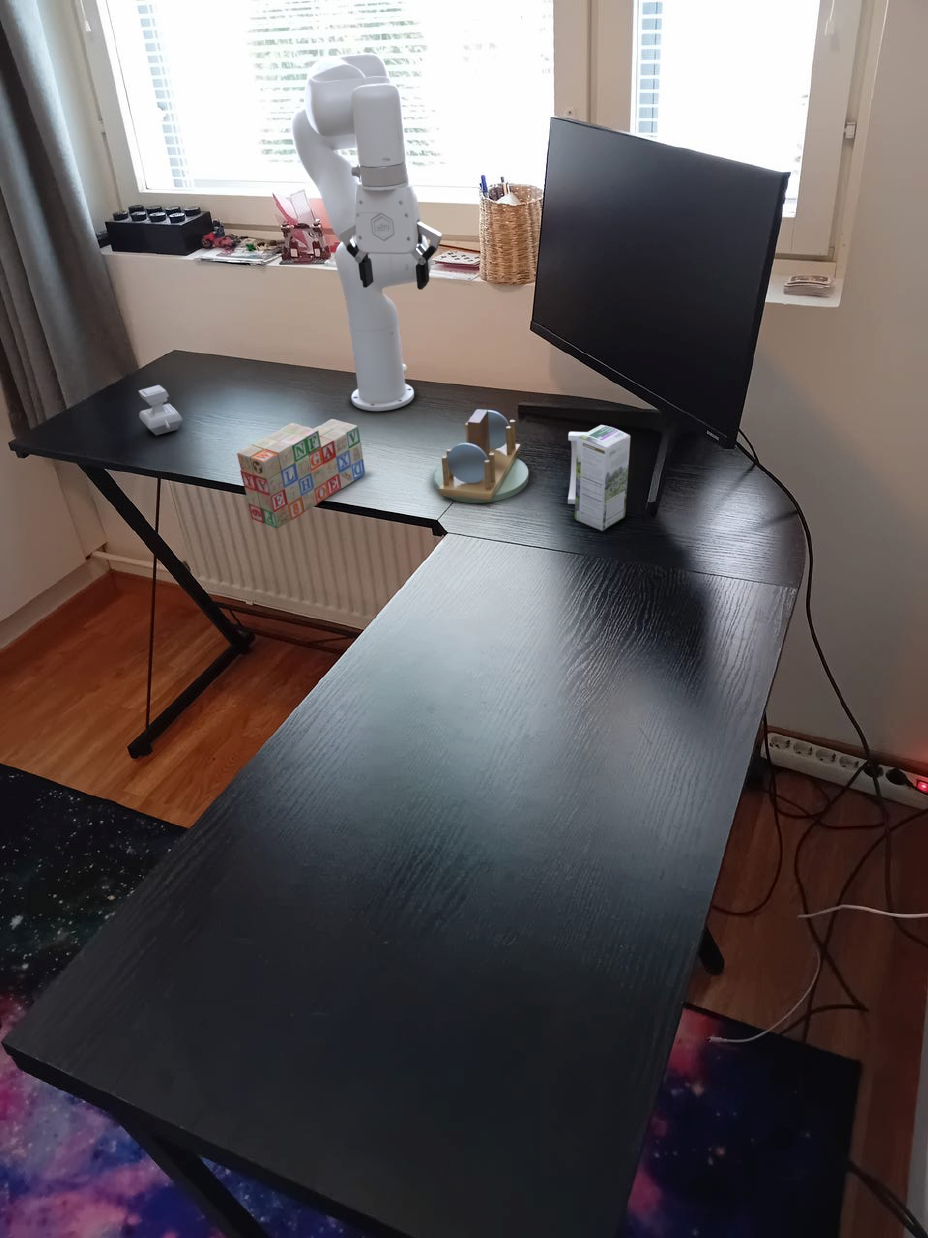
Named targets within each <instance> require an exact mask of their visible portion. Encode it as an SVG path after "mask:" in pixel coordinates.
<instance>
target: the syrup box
mask: <svg viewBox="0 0 928 1238" xmlns="http://www.w3.org/2000/svg"><path fill="white" fill-rule="evenodd" d="M586 432H587V433H585V434H583V435H581V436H580V437H578V438H577V462H576V495H575V504H574V520H575V521H577V522H580V523H582V524H584V525H587V526H589V527H592V528H594V529H596V530H599V531H601V532H604V531H605V530H607V529H608V528H610V527H612V526H613V525H615V524H616V523H618V522H619V521H621V520H623V519H624V518H626V509H627V493H628V478H629V462H630V449H631V435H630V434H628V433H626V432H624V431H622V430H619V429H617V428H615V427H612V426H608V425H604V424H600V425H598V426H596V427H595V428H593V429H591V430H589V431H586Z"/></svg>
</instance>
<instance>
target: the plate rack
mask: <svg viewBox="0 0 928 1238" xmlns="http://www.w3.org/2000/svg"><path fill="white" fill-rule="evenodd" d="M464 427H465V429H464V430H465V442H460V443H458V444H456V445H454V446H452V448H447V449H446V450H445V453H446V455H442V456H441V458H440V459H441V460H440V461H441V464H442V472H443V482H442V484H441V485H440V487H439V488H438V490H437V491H438V495H439V496H444V495H446V496H455V497H464V498H474V499H483V500H492V498H493V497H494V495H495V493H496V492H497V490H498V488H499V486H500V485H501V483H502V481H503V480H504V478H505V476H506V474H507V473H508V471H509V469H510V468H511V466H512V464H513V462H514V461H515V459H516V458H518V456H519V454H520V453H521V449H522V448H521V444H520V443H517V441H516V440H517V439H516V438H517V437H516V420H515V419H510V420H509V421H508V420H507V418H506V417H505V416H504V415H503V414H502V413H500V412H498V411H496V410H491V409H481V408H480V409H479V408H478V409H476V410H475V411H474V413H473V414H472V415H471V416H470V417H469V419H468V421H467V422H465V423H464ZM446 496H445V497H446Z"/></svg>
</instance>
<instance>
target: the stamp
mask: <svg viewBox="0 0 928 1238" xmlns="http://www.w3.org/2000/svg"><path fill="white" fill-rule="evenodd" d="M138 394H139V396H140V398H142V399H143V400H144V401H145V402H146V403H147V405H149V407H150V408H147V409H144V410H143V409H142V410H141V411H139V415H138V416H139V419H140V420H141V421H142V422H143V424H144V425H145V426H146V428H147V429H148V430H150V432H152V434H154V435H155V436H158V435H159V436H160V435H163V434H166V433H170V432H173V431H177V430H179V428H180V425H181V424H182V422H183V417H182V416H181V414H180V413H179V412H178V411H177V410H176V409H175V408H174V407H173V406H172V404H171V403H167V401H168V398H169V397H170V395H169V393H168V391H167V390H166V389H165V388H164V387H163V386H162V385H160V384H157V385H153V386H150V387H146V388H142V389H140V390H138ZM164 403H166V404H164Z"/></svg>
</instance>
